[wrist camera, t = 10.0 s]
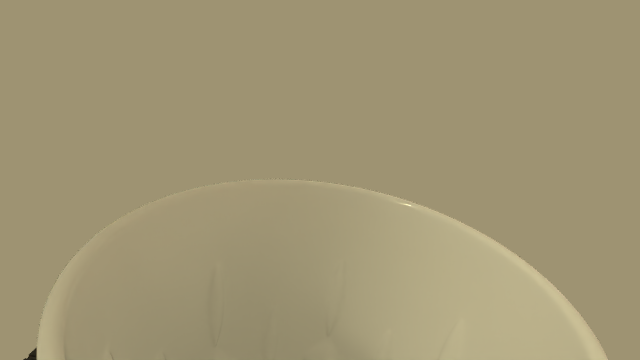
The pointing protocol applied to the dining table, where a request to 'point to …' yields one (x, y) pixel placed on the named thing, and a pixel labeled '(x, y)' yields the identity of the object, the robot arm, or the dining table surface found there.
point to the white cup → (303, 284)
